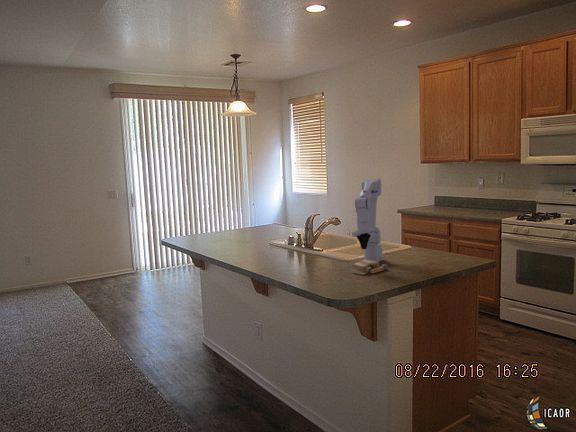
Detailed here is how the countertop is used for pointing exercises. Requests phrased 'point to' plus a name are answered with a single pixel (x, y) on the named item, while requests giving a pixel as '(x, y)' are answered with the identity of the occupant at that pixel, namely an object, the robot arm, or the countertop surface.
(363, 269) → the block
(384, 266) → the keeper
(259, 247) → the countertop surface
